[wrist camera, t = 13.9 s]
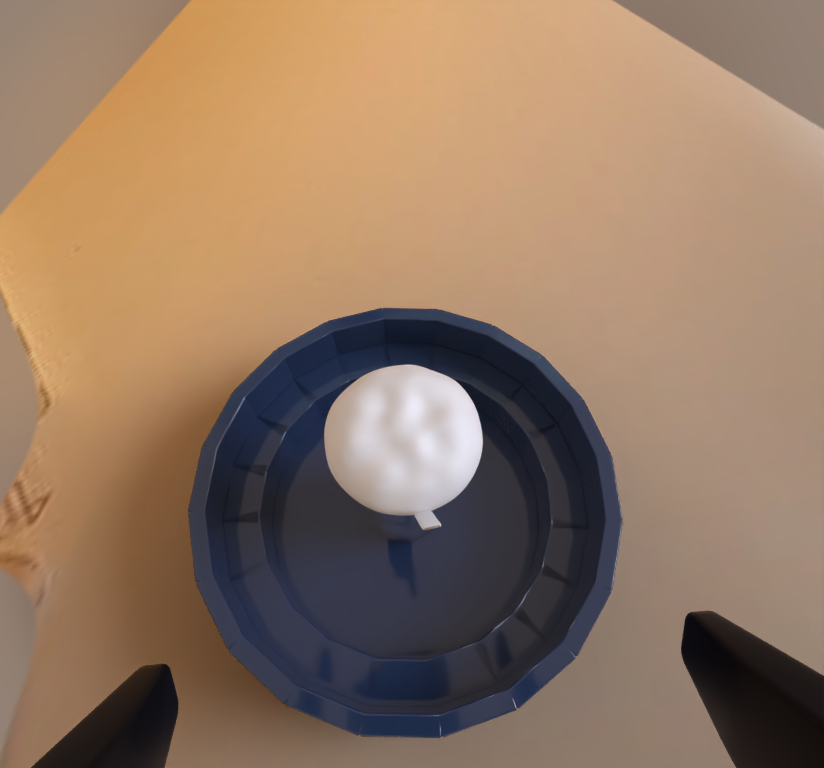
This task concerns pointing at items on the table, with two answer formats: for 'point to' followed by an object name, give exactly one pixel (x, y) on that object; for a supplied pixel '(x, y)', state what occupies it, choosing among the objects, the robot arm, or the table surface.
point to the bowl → (400, 559)
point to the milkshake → (403, 447)
